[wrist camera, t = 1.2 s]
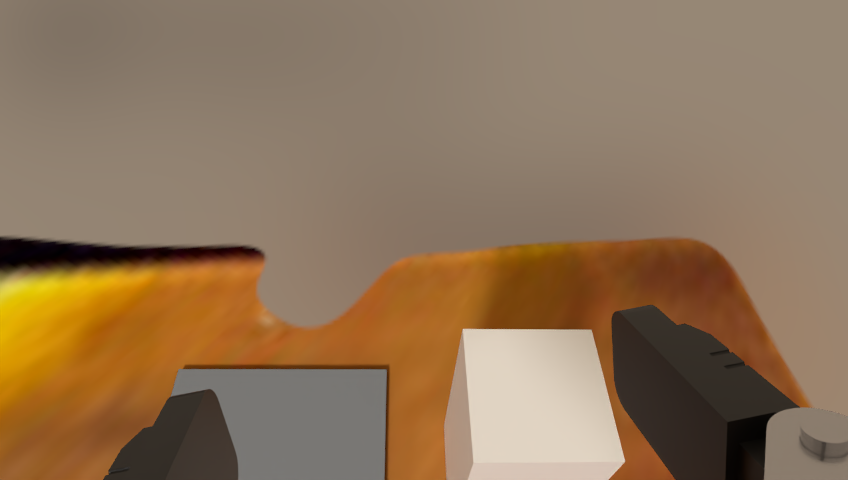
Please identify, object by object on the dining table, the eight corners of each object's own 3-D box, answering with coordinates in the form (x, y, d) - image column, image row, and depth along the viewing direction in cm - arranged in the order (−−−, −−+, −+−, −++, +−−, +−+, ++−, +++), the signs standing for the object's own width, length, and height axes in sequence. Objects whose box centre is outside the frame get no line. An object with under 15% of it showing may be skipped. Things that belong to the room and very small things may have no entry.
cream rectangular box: (558, 532, 32) (625, 461, 23) (449, 534, 32) (473, 462, 23) (540, 425, 37) (591, 329, 27) (444, 425, 36) (462, 329, 27)
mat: (110, 619, 29) (107, 618, 28) (180, 371, 38) (178, 369, 37) (381, 613, 29) (381, 612, 29) (386, 372, 38) (386, 369, 38)
